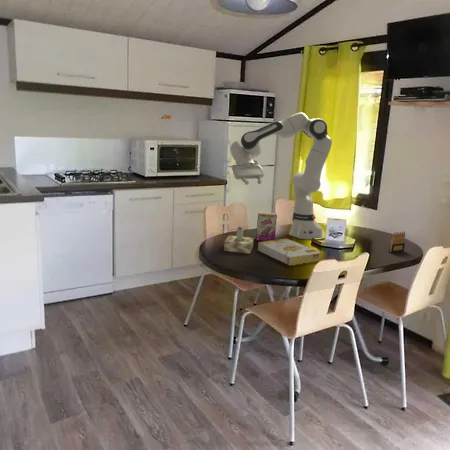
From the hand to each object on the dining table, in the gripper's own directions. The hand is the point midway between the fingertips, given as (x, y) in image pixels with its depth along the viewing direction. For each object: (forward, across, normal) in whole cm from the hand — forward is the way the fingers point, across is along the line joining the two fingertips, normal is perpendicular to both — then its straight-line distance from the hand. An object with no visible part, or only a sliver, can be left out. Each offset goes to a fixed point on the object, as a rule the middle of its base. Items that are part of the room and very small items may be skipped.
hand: (253, 183), depth 260 cm
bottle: (+35, -21, +11) cm, 42 cm away
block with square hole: (+35, -21, +11) cm, 42 cm away
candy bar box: (+30, +4, +17) cm, 34 cm away
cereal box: (+50, -4, -3) cm, 50 cm away
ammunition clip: (+65, +61, -17) cm, 91 cm away
